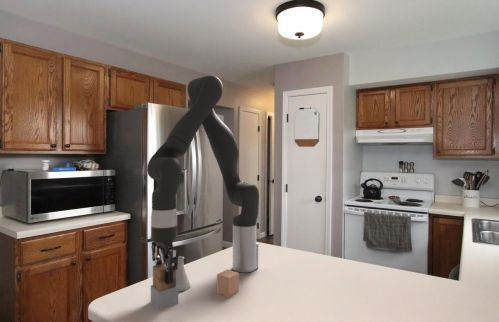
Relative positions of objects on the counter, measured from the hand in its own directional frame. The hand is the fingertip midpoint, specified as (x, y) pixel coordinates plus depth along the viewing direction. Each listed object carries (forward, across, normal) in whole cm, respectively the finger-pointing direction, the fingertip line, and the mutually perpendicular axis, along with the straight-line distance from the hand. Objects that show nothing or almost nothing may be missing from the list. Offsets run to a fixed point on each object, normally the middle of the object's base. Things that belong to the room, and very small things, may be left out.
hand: (164, 279), depth 92 cm
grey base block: (+7, 0, 0) cm, 7 cm away
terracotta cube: (+7, -6, -19) cm, 21 cm away
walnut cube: (+2, 0, 0) cm, 2 cm away
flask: (+7, +7, -8) cm, 13 cm away
